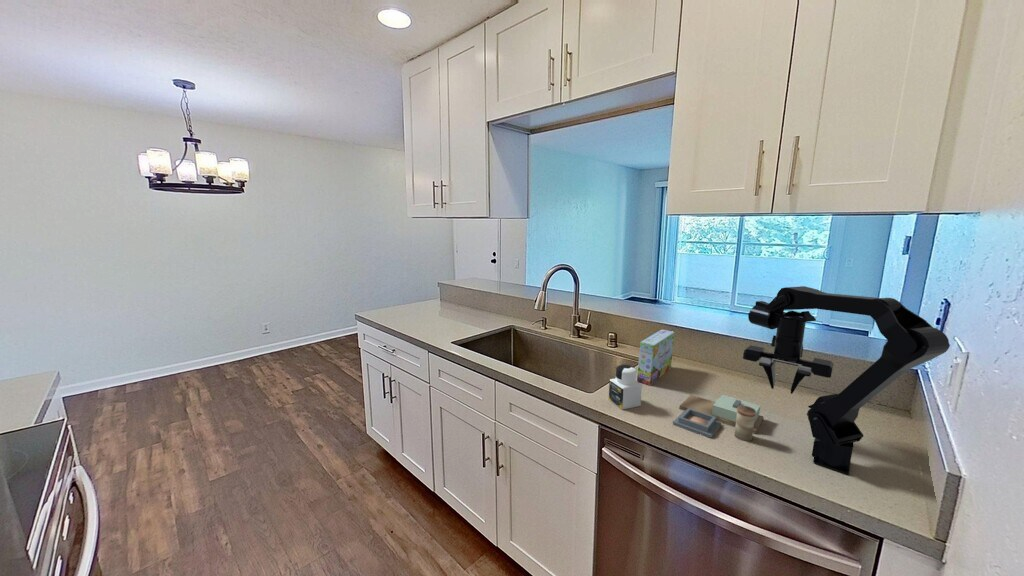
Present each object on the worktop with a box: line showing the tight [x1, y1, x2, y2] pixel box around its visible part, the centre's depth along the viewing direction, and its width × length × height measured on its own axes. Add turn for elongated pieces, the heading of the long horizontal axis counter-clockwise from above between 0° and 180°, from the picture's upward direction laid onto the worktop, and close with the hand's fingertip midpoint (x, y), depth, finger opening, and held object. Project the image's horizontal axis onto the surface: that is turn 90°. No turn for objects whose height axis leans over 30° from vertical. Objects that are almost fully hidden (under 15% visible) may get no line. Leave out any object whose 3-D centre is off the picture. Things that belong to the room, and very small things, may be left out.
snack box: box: [636, 329, 676, 386], centre depth 140 cm, size 21×6×15 cm, turn 139°
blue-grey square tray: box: [672, 408, 722, 439], centre depth 107 cm, size 10×9×2 cm
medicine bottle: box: [608, 364, 643, 411], centre depth 118 cm, size 7×7×12 cm
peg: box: [734, 406, 756, 442], centre depth 100 cm, size 4×4×8 cm
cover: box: [712, 394, 761, 423], centre depth 109 cm, size 10×9×4 cm
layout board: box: [679, 394, 764, 435], centre depth 112 cm, size 20×10×1 cm, turn 47°
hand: (782, 390), depth 101 cm, fingers open, 4 cm apart
